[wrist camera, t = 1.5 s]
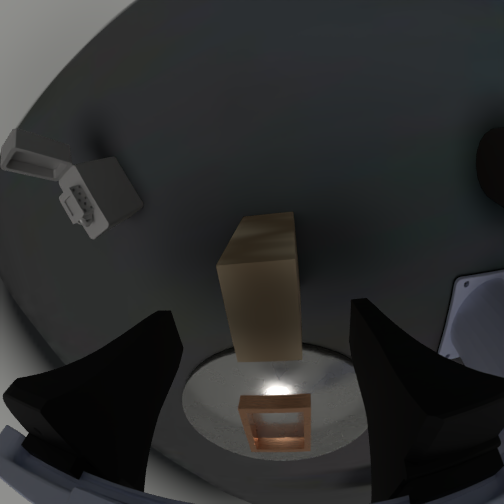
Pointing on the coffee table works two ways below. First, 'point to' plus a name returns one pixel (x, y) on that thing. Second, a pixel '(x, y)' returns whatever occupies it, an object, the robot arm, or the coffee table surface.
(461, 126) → the coffee table surface
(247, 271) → the wood grain block
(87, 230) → the lighter
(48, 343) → the coffee table surface
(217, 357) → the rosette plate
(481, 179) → the coffee cup
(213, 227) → the coffee table surface
